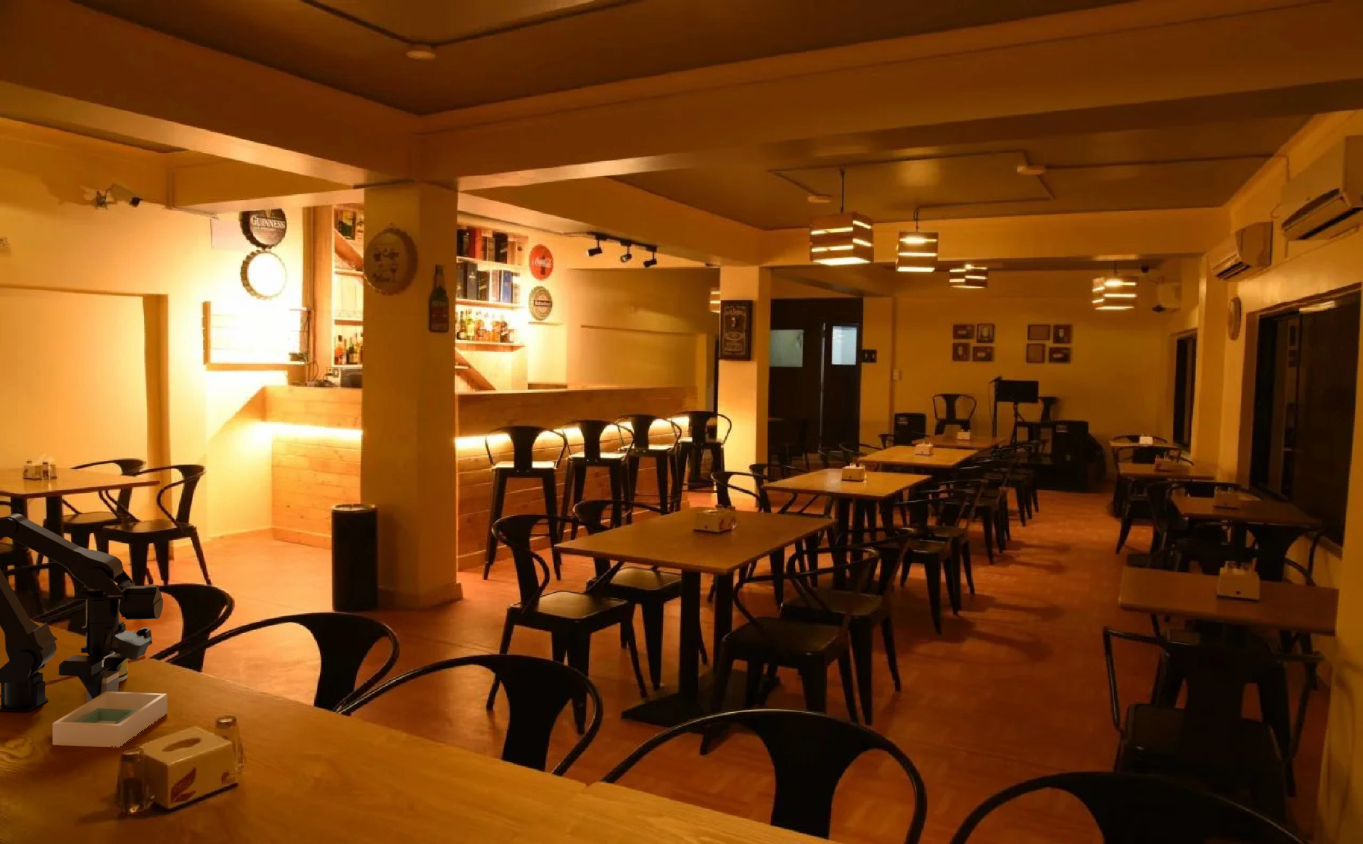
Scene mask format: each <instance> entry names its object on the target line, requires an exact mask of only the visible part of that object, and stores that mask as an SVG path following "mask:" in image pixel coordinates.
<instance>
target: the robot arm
mask: <svg viewBox="0 0 1363 844" xmlns="http://www.w3.org/2000/svg"><path fill="white" fill-rule="evenodd" d="M2 538H9V539H11V540H13V541H15V542H16V543H18V544H20V545H23V546H25V547H26V548H28V549H30V550H32V551H34V552H36V553H38V554H40V555H41V556H44V557H45V558H48V559H50V560H51V561H53V562H56V563H57V564H59V565H60V566H61V565H62V566H63V567H64V568H66V569H67V570H68V571H69V572H70V574H71V575H72V576H73V578H75V579H76V580H78V582H80V583H81V584H83V585H84V586H83V587H82V588H81V589H80V590H79V592H77V594H75V595H74V596H73V599H74V600H76V601H79V600H80V601H83V600H85V625H83V626H81V628H80V632H81V633H85V645H84V646H82V647H80V653H82V655H81V654H73V655H71V656H70V657H68V658H66V659H63V661H62V662H60V663H59V664H58V675H59V676H62V677H65V676H69V677H77V678H78V679H79V680H80V682H81V683H82V685H83V686H84V688H85V689H86V692H87V691H88V692H89V694H90V696H91V697H92V699H94V698H96V697H97V696H99V695H100V693H101V685H102V677H103V674H104V673H105V672H106V671H119V670H120V668H121V665H122V664H123V662H125V661H126V660H127V659H128V660H131V661H134V660H135V661H136V660H138V659H139V657H142V656H145V654H146V653H147V650H148V648H149V646H151V645H153V640H152V639H153V637H152V629H151V628H148V627H146V626H144V627H142V628H140V629H138V630H137V631H136V630H132V631H130V630H126V629H127V628H126V627H127V626H126V623H125V621H120V616H121V618H125V620H129V621H130V620H133V621H134V620H159V619H160V618H161V616H162V612H163V607H164V598H163V596H162V591H160V585H159V584H151V585H136V583H135V581H134V580H133V579H132V578H131V576H129V574H128V573H127V572H126V571H125V570H124V565H123V562H122V560H121V559H120V558H119V557H117V556H115V555H113V554H109V553H106V552H103V551H100V550H95V549H89V548H85V547H82V546H79V545H78V544H76V543H74V542H72V541H70V540H69V539H66V538H65V537H63V536H60V535H58V534H57V533H55V532H53V531H51V530H49V529H47V528H45V527H43V526H41V525H39V524H37V523H35V522H34V521H32V520H30V519H28V518H27V517H26V516H25V515H23V514H20V513H12V514H9V515H7V516H0V539H2ZM0 628H1V630H2V633H3V635H4V650H5V653H6V656H7V658H8V661H7V662H6V663H5V664H4V665H2V666H1V667H0V712H19V713H20V712H21V713H23V712H24V713H28V712H29V711H32V710H34V709H35V708H38V707H40V706H41V705H43V704H44V703H46V702H47V701H49V697H46V681H45V680H44V672H40V671H41V670H43V669H44V668H45V667H46V665H47V662H49V661H50V660H51V659H52V658H53V657H54V656H55V653H56V651H57V649H58V648H57V644H56V641H58V638H57V637H56V636H55V635H54V634H53V633H52V631H51V628H50V626H49V624H48V623H47V622H45V623H42V624H41V625H39V624H37V623H36V622H34V621H32V619H31V618H30V617H29V615H28V613H27V611H26V610H25V608H24V606H23V604H22V603H21V601H20V600H19V598H18V596H17V595H16V593H15V591H14V589H13V587H12V586H11V584H10V583H9V580H8V579H7V578H6V576H5V574H4V572H3V571H2V569H1V568H0ZM83 654H85V655H83ZM86 654H87V655H86Z"/></svg>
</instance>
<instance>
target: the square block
mask: <svg viewBox="0 0 1363 844" xmlns="http://www.w3.org/2000/svg"><path fill="white" fill-rule="evenodd" d="M119 686H120V682H119V671H106V672H105V673H104V674H103V677H102V685H101V693H100V695H101V694H102V693H104V692H106V691H108V692H120V691H119V690H120V689H119ZM91 700H92V697H91V696H90V694H89V692H88V691H87V690H86V703H87V702H89V701H91Z"/></svg>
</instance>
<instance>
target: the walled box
mask: <svg viewBox="0 0 1363 844" xmlns="http://www.w3.org/2000/svg"><path fill="white" fill-rule="evenodd" d="M165 714H166V715H168V693H159V692H158V693H156V692H155V693H154V692H133V691H131V692H130V691H119V692H108V691H106V692H104V693H102V694H101V695H99V696H97V697H96V698H94V699H92V700H91V701H89V702H87V701H86V703H84V704H82V705H81V706H79V707H77V708H76V709H74V710H73V711H70V712H69V713H68V714H65V715H64V716H62V717H61V718H59V719H57V720H56V721H54V722H52V745H53V746H68V747H69V746H70V747H71V746H72V747H73V746H74V747H98V748H99V747H101V748H121V747H123V746H124V745H125V744H127V743H128V742H129V741H130V740H129V739H131V738H132V737H133V736H135V737H137V736H138V735H139V734H140V733H139V732H141V731H142V730H143V731H145V730H146V729H147V727H148V726H149V725H150V726H152V725H153V724H155V723H156V722H158V721H159V720H160V719H162V718H163V717H164V716H166V715H165ZM161 717H162V718H161ZM159 718H160V719H159ZM158 719H159V720H158ZM155 721H156V722H155ZM154 722H155V723H154ZM151 724H152V725H151ZM150 726H149V727H150ZM149 727H148V728H149ZM145 728H146V729H145ZM144 729H145V730H144ZM143 731H142V732H143ZM142 732H141V733H142ZM138 733H139V734H138ZM137 734H138V735H137ZM132 739H133V738H132ZM132 739H131V740H132ZM128 740H129V741H128ZM127 741H128V742H127ZM126 742H127V743H126ZM124 743H125V744H124ZM123 744H124V745H123ZM111 746H113V747H111ZM115 746H116V747H115ZM120 746H121V747H120Z"/></svg>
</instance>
